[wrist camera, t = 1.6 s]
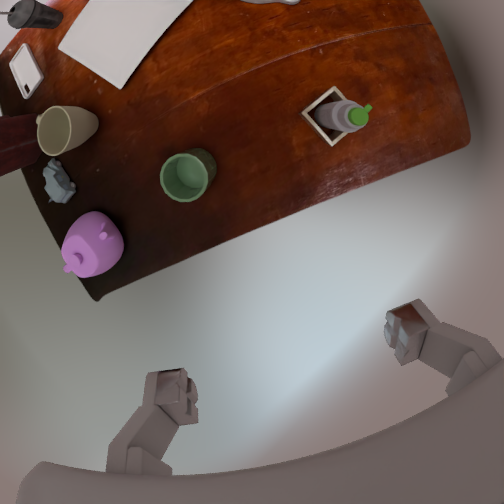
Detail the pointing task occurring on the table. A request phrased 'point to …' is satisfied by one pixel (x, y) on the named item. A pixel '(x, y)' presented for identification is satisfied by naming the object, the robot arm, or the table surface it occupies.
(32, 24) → the beverage cup
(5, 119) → the red grey decanter
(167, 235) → the table surface
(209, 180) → the green cup
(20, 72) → the phone case
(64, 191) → the toy car
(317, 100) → the ivory holder
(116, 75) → the plate
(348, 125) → the bottle
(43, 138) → the mug
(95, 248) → the teapot
